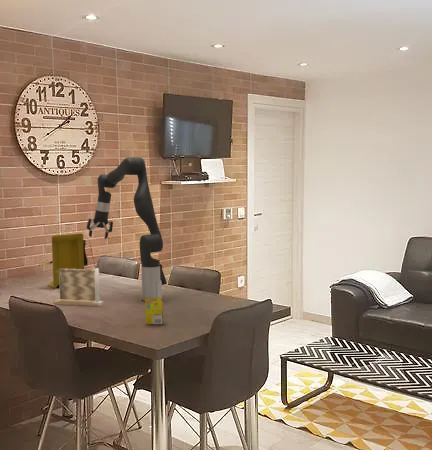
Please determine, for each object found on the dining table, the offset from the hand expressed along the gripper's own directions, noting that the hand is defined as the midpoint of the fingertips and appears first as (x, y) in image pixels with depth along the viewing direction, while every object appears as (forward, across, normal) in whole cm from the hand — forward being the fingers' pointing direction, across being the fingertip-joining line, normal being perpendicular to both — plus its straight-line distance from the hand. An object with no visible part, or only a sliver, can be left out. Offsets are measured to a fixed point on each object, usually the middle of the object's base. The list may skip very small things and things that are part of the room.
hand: (97, 237), depth 337 cm
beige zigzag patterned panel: (+23, -16, -46) cm, 53 cm away
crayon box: (+15, +8, -96) cm, 98 cm away
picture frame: (+25, -15, -46) cm, 54 cm away
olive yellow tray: (+30, -12, +3) cm, 33 cm away
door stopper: (+20, +35, -16) cm, 43 cm away
